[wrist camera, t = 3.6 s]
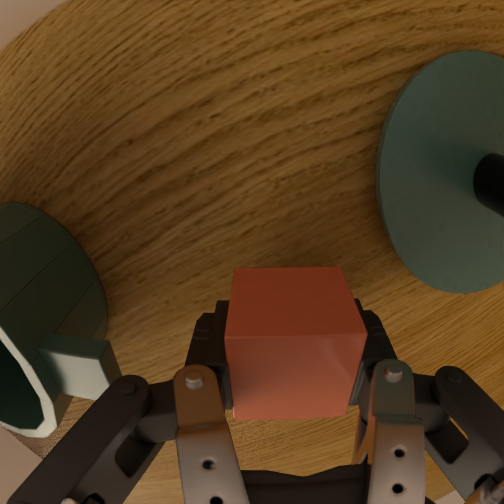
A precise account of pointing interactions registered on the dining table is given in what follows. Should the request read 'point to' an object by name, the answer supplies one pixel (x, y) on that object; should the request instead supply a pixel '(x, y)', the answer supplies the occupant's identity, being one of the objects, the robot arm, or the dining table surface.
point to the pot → (48, 323)
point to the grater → (14, 464)
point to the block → (292, 343)
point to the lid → (446, 172)
